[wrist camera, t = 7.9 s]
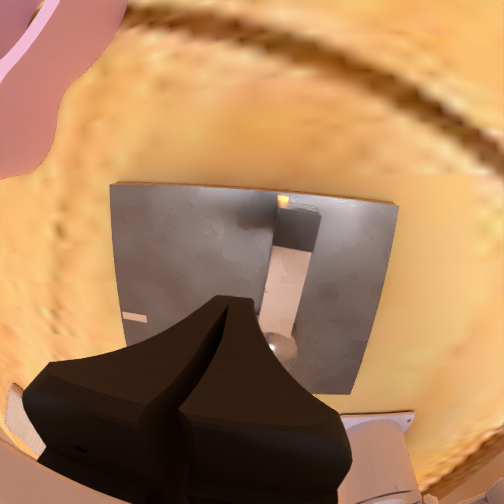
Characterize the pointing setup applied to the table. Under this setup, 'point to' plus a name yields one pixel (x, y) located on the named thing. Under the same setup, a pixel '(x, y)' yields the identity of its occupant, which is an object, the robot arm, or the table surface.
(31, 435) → the washcloth
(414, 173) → the table surface
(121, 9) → the clip
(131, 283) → the plate
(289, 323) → the lever
